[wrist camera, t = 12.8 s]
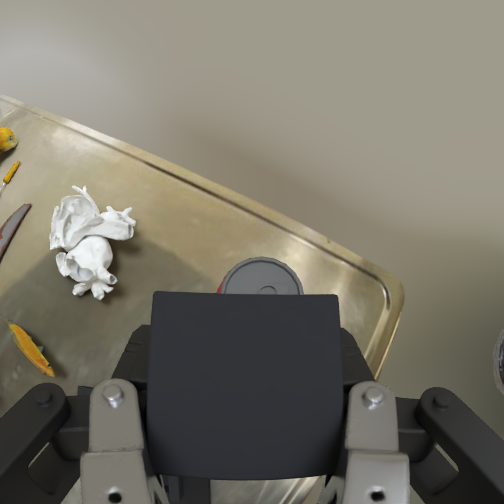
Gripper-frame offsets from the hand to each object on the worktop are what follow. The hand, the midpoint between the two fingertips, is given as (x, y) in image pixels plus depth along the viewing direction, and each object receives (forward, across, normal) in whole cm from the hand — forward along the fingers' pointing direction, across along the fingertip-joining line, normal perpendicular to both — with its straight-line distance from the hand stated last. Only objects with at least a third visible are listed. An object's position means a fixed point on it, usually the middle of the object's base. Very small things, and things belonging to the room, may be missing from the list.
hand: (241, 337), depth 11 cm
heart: (+23, +17, +6) cm, 29 cm away
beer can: (+17, -2, +12) cm, 21 cm away
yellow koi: (+14, +24, +15) cm, 32 cm away
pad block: (+2, 0, +4) cm, 5 cm away
